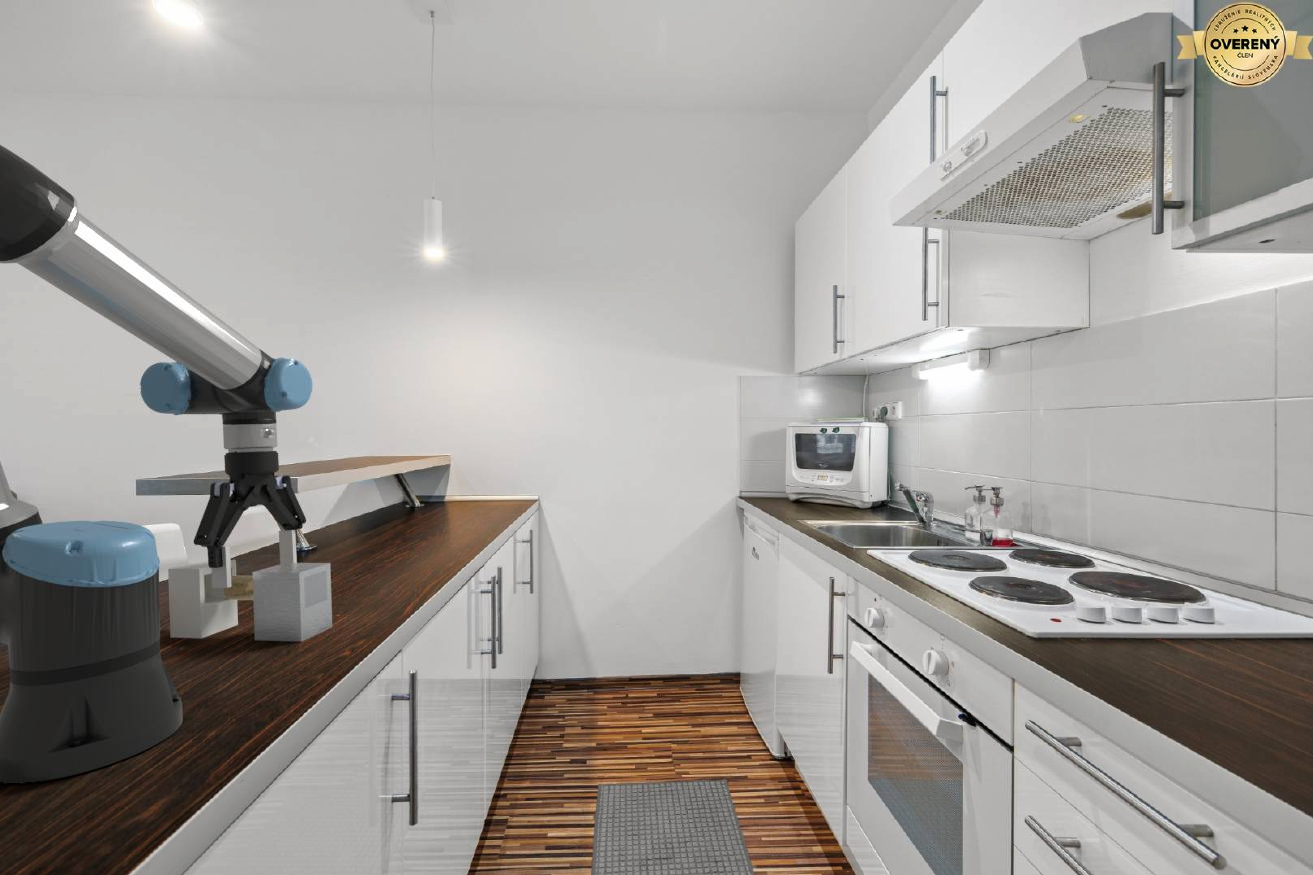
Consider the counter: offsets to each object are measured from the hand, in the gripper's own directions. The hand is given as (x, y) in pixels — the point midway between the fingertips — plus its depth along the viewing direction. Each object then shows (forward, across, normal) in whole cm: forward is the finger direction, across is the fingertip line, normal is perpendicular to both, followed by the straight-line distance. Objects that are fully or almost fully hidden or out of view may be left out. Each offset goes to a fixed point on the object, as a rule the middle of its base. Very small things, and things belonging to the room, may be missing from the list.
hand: (257, 576), depth 101 cm
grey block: (+9, -1, -7) cm, 12 cm away
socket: (+9, -1, +10) cm, 14 cm away
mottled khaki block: (+4, -1, -3) cm, 5 cm away
